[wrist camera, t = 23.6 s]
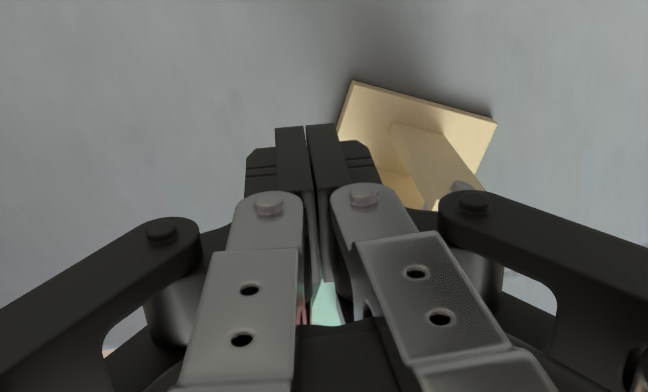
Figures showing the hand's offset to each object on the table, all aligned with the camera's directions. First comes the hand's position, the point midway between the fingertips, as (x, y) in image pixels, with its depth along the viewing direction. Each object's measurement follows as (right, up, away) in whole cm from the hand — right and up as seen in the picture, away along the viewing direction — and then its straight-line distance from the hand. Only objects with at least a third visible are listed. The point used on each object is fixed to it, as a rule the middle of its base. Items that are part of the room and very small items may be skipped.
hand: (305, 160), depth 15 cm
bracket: (+7, +3, +32) cm, 33 cm away
